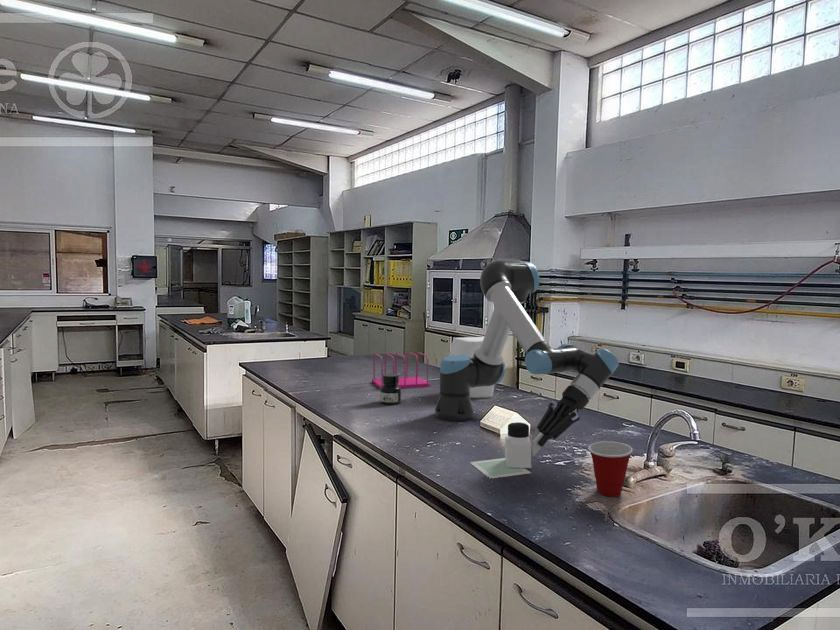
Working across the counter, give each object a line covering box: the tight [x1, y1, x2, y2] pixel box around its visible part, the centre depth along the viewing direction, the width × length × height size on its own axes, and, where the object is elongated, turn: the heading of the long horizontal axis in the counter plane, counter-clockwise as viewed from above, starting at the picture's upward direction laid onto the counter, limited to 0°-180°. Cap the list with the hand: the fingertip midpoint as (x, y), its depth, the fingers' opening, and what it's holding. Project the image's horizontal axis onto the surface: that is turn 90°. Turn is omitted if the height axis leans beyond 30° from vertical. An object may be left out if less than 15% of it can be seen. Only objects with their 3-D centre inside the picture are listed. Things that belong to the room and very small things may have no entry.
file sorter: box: [371, 351, 431, 389], centre depth 265 cm, size 17×25×16 cm
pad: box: [469, 457, 532, 480], centre depth 154 cm, size 13×13×1 cm
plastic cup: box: [587, 441, 634, 497], centre depth 137 cm, size 11×11×12 cm
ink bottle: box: [379, 373, 402, 405], centre depth 228 cm, size 10×9×12 cm
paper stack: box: [448, 336, 495, 399], centre depth 246 cm, size 21×27×26 cm
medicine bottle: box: [504, 421, 533, 469], centre depth 156 cm, size 7×7×12 cm
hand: (529, 452), depth 157 cm, fingers closed
